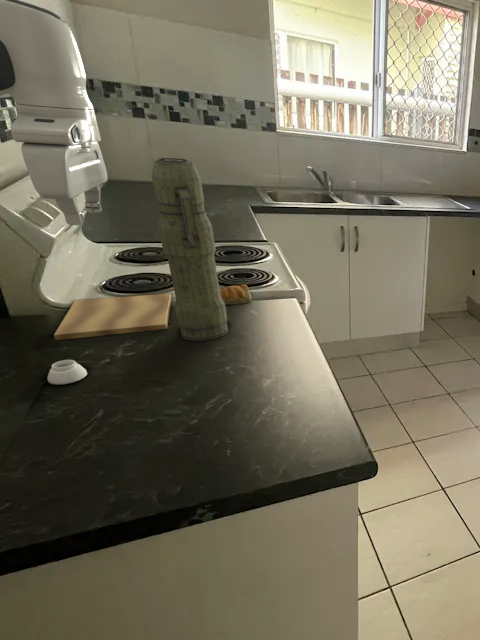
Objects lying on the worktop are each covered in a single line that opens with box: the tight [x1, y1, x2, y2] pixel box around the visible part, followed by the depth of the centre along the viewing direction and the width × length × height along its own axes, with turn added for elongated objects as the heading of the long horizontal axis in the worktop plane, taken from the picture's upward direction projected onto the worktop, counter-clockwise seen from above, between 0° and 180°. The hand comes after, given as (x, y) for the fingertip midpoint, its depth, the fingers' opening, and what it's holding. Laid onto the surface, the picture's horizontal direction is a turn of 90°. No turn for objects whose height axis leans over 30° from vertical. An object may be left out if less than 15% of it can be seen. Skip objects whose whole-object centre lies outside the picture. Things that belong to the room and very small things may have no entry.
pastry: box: [220, 284, 252, 306], centre depth 117 cm, size 9×7×4 cm
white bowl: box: [46, 359, 88, 385], centre depth 80 cm, size 5×3×5 cm
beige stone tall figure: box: [151, 157, 229, 342], centre depth 94 cm, size 9×12×35 cm
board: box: [53, 293, 173, 341], centre depth 104 cm, size 18×20×1 cm
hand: (85, 218), depth 78 cm, fingers open, 8 cm apart
